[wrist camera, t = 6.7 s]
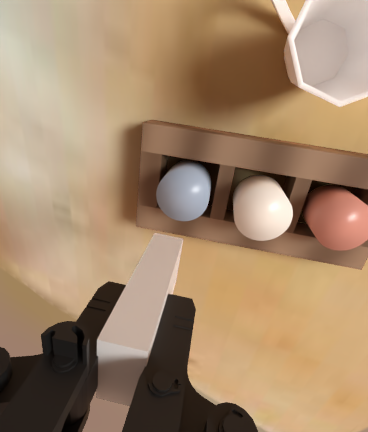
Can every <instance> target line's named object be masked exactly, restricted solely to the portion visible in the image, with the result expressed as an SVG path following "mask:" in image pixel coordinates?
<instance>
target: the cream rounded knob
mask: <svg viewBox="0 0 368 432" xmlns="http://www.w3.org/2000/svg"><path fill="white" fill-rule="evenodd" d="M233 210H234V221H235V224H236V227H237V228H238V230H239V231H240V232H241V233H242V234H243V235H244V236H246V237H248V238H250V239H253V240H258V241H266V240H271V239H274V238H276V237H278V236H280V235H281V234H283V233H284V232H285V231H286V230H287V229H288V227H289V226H290V224H291V221H292V218H293V209H292V206H291V203H290V201H289V200H288V198H287V197H286V195H285V193H284V192H283V190H282V188H281V187H280V185H279V184H278V182H277V181H276V180H274V179H273V178H271V177H269V176H266V175H252V176H249V177H247V178H245V179H244V180H242V181H241V182H240V183H239V184H238V185H237V187H236V188H235V191H234V194H233Z"/></svg>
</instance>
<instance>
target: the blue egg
mask: <svg viewBox="0 0 368 432" xmlns="http://www.w3.org/2000/svg"><path fill="white" fill-rule="evenodd" d="M211 185H212V181H211V176H210V174H209V172H208V170H207V169H206V168H205V167H204V166H203V165H202V164H200V163H198V162H196V161H192V160H184V161H180V162H178V163H176V164H175V165H173V166H172V167H171V169H170V170H169V171H168V172H167V174H166V175H165V176H164V177H163V179H162V180H161V181H160V183H159V185H158V187H157V192H156V198H157V202H158V205H159V207H160V209H161V210H162V211H163V212H164V213H165V214H166V215H167V216H168V217H170V218H172V219H174V220H178V221H190V220H194V219H196V218H198V217H199V216H201V215H202V214H203V213H204V211H205V210H206V208H207V206H208V203H209V197H210V191H211Z"/></svg>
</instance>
